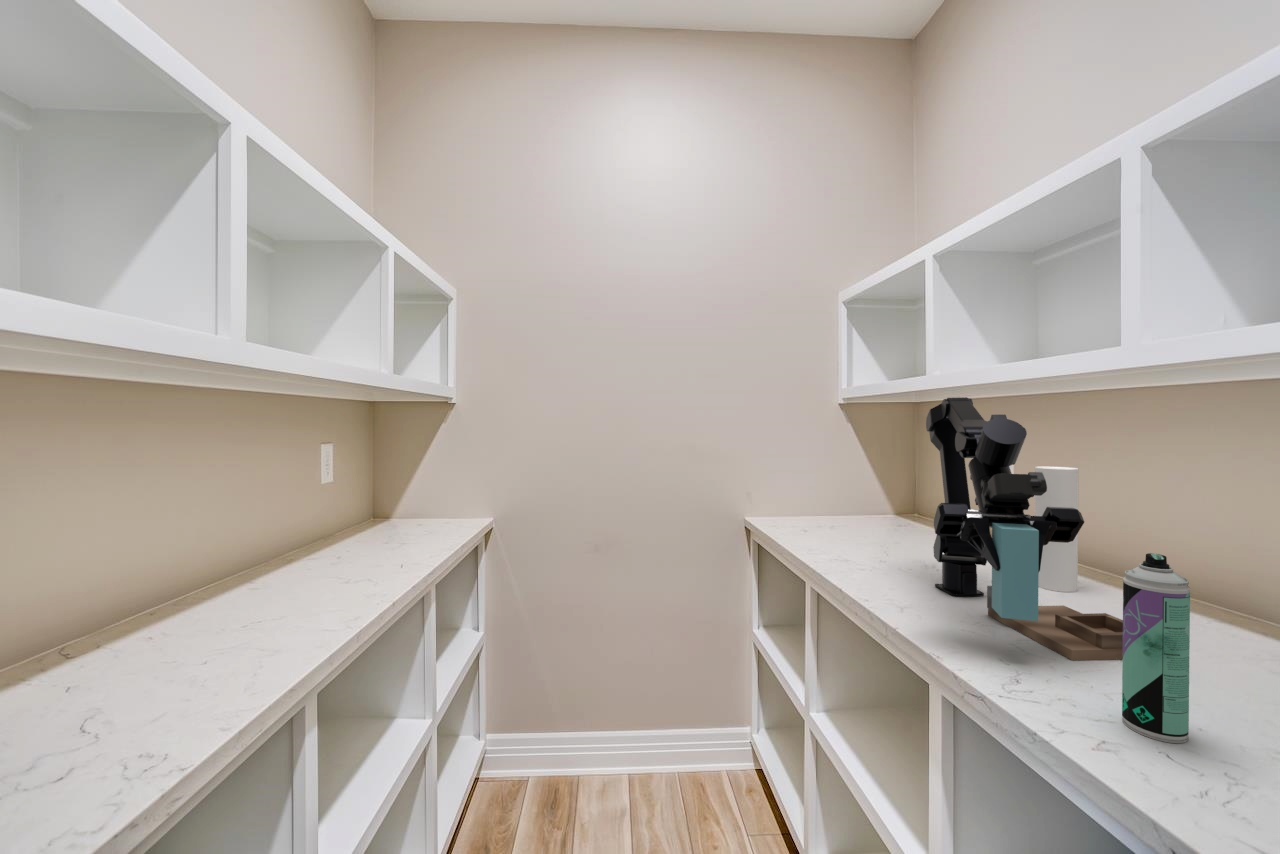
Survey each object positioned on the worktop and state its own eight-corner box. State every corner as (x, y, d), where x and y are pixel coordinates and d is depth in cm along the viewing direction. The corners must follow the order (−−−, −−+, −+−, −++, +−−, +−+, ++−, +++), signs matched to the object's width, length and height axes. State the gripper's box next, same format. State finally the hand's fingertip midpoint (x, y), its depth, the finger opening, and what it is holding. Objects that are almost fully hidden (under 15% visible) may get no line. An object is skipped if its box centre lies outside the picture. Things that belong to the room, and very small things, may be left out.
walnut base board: (985, 615, 96) (985, 584, 96) (1063, 613, 96) (1063, 583, 96) (1068, 660, 78) (1068, 623, 78) (1164, 658, 78) (1164, 621, 78)
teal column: (991, 607, 82) (992, 522, 81) (1026, 610, 80) (1026, 524, 80) (1001, 617, 77) (1002, 528, 77) (1038, 621, 76) (1038, 530, 76)
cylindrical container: (1037, 589, 110) (1038, 468, 110) (1031, 579, 117) (1032, 465, 116) (1081, 594, 107) (1082, 470, 107) (1072, 584, 113) (1073, 467, 113)
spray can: (1153, 714, 64) (1155, 548, 63) (1203, 742, 58) (1205, 561, 58) (1109, 716, 64) (1110, 549, 63) (1155, 744, 58) (1156, 561, 58)
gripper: (937, 452, 85) (954, 536, 75) (1078, 454, 79) (1118, 545, 69) (927, 494, 93) (941, 576, 82) (1055, 499, 87) (1088, 587, 76)
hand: (1017, 570), depth 77 cm, fingers closed on teal column, 4 cm apart
